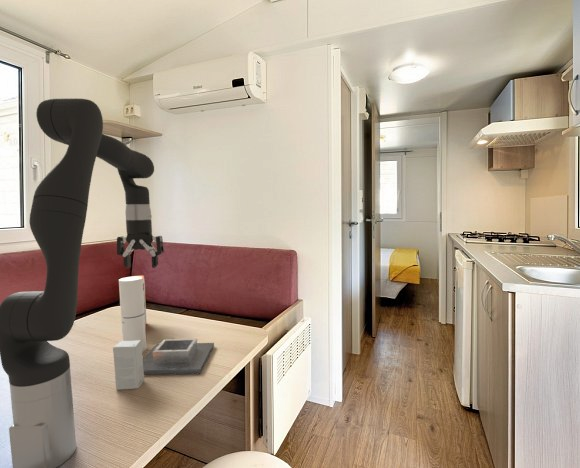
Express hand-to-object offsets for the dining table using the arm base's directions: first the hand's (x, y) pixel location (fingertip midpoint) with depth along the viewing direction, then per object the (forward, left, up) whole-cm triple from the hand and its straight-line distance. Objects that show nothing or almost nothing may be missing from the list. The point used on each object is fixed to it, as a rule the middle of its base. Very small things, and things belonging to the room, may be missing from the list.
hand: (141, 267), depth 105 cm
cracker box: (+20, +12, -29) cm, 38 cm away
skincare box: (-20, -4, -29) cm, 36 cm away
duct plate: (-6, -12, -29) cm, 32 cm away
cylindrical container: (+2, +5, -29) cm, 30 cm away
